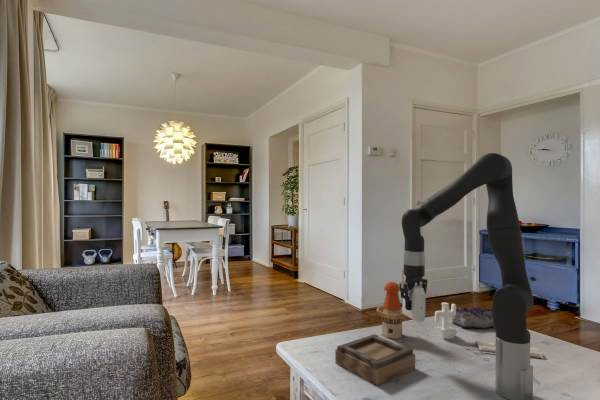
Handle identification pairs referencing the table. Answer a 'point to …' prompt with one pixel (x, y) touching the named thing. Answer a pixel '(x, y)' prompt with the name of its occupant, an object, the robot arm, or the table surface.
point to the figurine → (445, 321)
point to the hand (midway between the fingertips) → (413, 308)
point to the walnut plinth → (376, 355)
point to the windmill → (392, 312)
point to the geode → (474, 318)
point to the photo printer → (416, 305)
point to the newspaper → (492, 348)
